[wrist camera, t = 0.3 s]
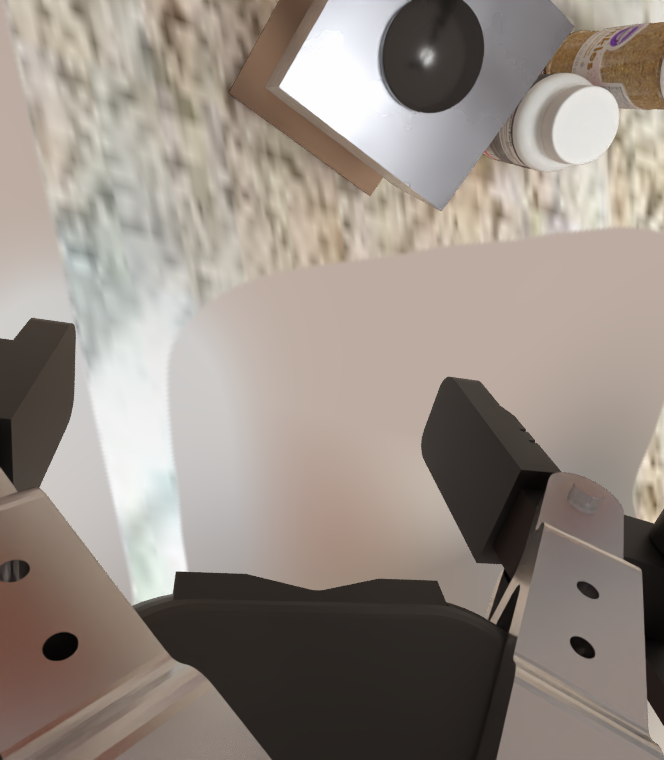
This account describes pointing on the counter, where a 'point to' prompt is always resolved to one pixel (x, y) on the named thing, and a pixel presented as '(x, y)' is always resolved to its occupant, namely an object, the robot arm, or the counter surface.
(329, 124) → the gray box with knob
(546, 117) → the pill bottle
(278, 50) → the tester base
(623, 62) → the sprinkles bottle
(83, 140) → the counter surface
